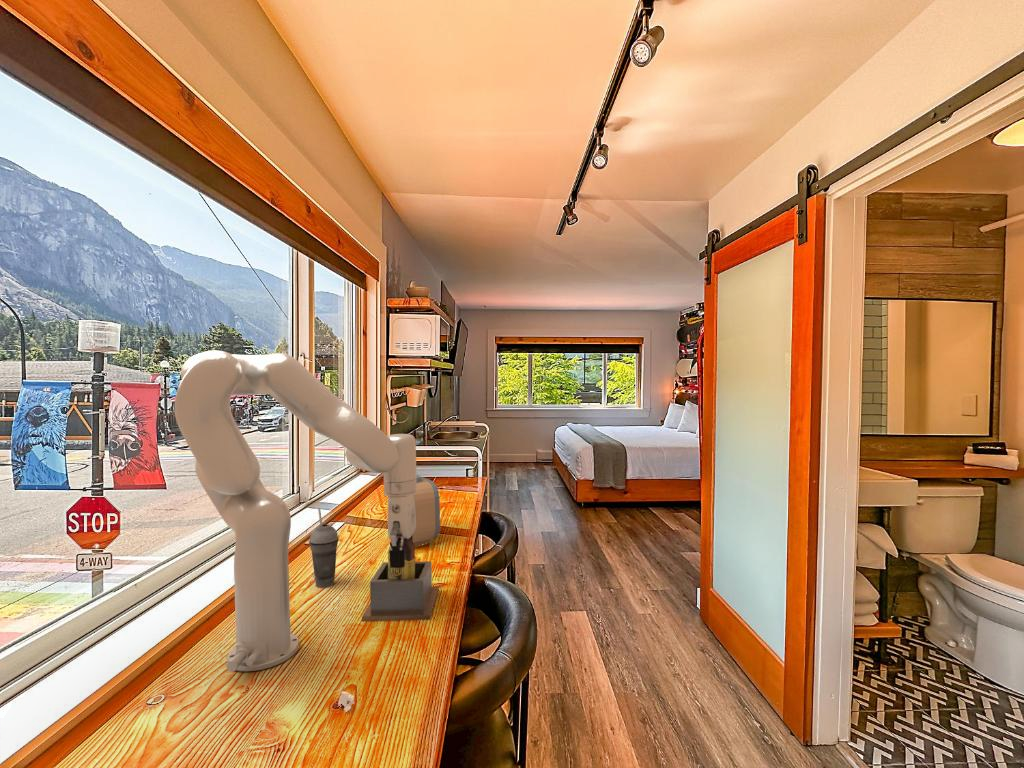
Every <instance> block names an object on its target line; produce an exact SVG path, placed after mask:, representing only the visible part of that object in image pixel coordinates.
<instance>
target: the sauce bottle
mask: <svg viewBox="0 0 1024 768" xmlns="http://www.w3.org/2000/svg"><path fill="white" fill-rule="evenodd" d="M399 528H400V527H399ZM397 536H402V535H397ZM397 541H399V542H400V540H397ZM403 549H404V555H405V566H404V567H403V568H391V567H390V547H389V549H388V552H387V553H388V554H387V562H388V579H415V562H416V551H415V550H416V547H415V545H414V543H413V541H412V539H411V537H410V538H409V539H407V538H404V543H403Z"/></svg>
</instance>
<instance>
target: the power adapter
mask: <svg viewBox="0 0 1024 768" xmlns="http://www.w3.org/2000/svg"><path fill="white" fill-rule="evenodd" d="M340 692H341V694H340V696H339V700H338V702H337V706H338V707H339V706H340V707H342V706H344V708H343V710H345V711H346V712H347V711H349V712H350V710H351V708H352V706H351V705H352V704H354V705H355V695H353V694H351V693H349V692H347V691H342V690H341V691H340ZM341 704H342V705H341ZM340 707H339V708H340ZM347 713H348V712H347Z"/></svg>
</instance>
